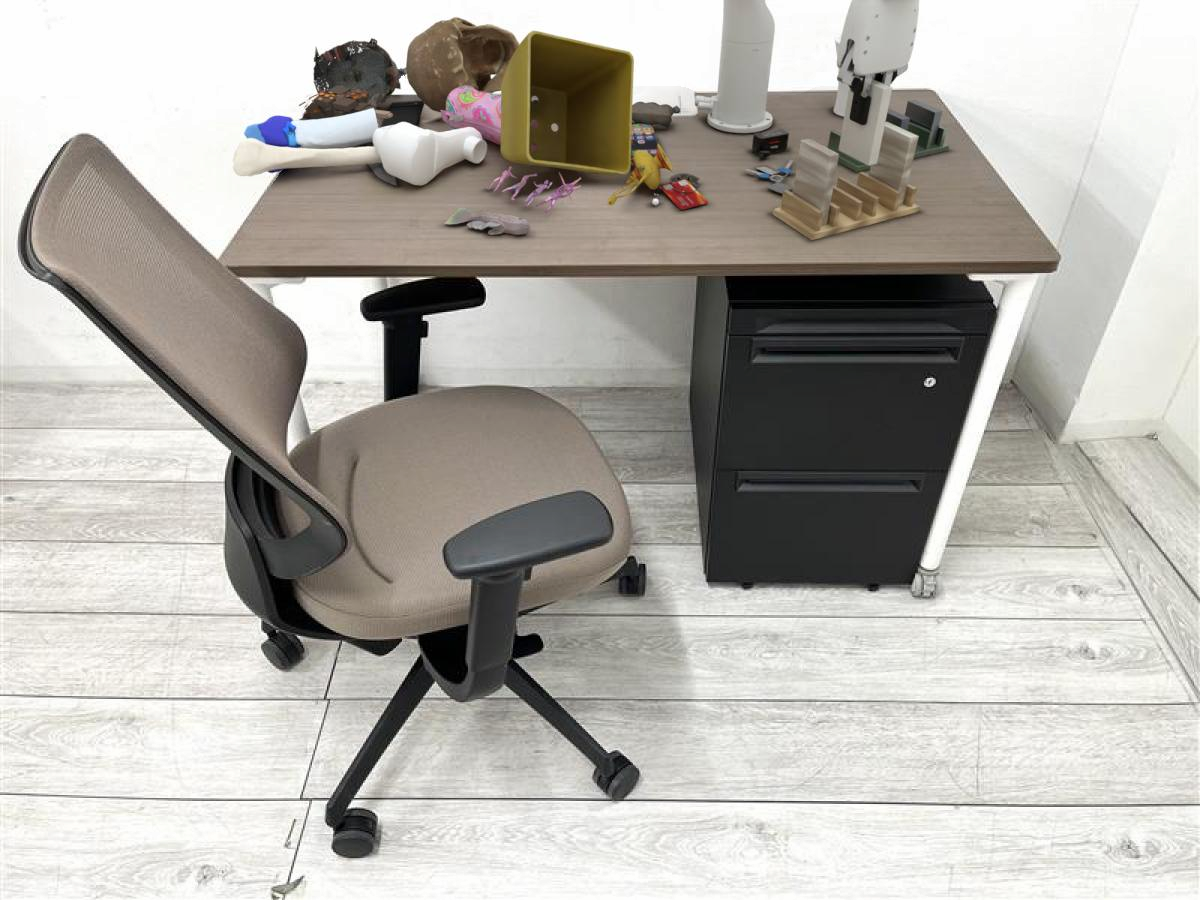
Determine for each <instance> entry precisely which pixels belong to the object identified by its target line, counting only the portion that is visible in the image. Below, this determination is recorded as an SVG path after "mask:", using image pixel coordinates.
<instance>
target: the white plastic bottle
mask: <svg viewBox="0 0 1200 900" xmlns="http://www.w3.org/2000/svg"><path fill="white" fill-rule="evenodd" d="M373 144H374V147H375V148H376V151H377V153H378V155H379V156H380V158H381V161H382V164H383V167H384V169H385V171H386V172H387V173H389V174H390V175H392V176H395V178H397V179H400V180H401V181H403V182H406V183H409V184H411V185H414V186H424V185H427V184H428V183H429V182H431V181H432V180H433V179H434V178H435V177H436V176H437V175H439V173H441V172H442V171H443V170H444V169H447V168H449V167H451V166H454V165H456V164H457V163H460V162H462V161H464V160H467V161H469V162H471V163H473V164H477V165H478V164H480V163H481V162H483V160H484V159H485V158H486V156H487V153H488V144H487V142H486V140H485V139H483V138H482V136H481V133H480V132H479V131H477V130H476V129H475V128H473V127H466V128H460V129H455V130H454V129H450V130H445V131H440V132H439V131H436V130H432V129H427V128H425V129H424V128H422V127H419V126H414V125H412V124H410V123H407V122H400V123H398V124H396V125H390V126H385V127H381V126H380V127H378V129H376V130H375V132H374V134H373Z"/></svg>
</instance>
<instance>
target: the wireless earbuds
mask: <svg viewBox="0 0 1200 900" xmlns="http://www.w3.org/2000/svg"><path fill="white" fill-rule="evenodd" d="M752 134H753V135H752V136H753V137H752V145H751V151H752V152H753V153H754V154H756V155H757V156H758V158H759V159H765V158H768V157H770V156H771V154H775V153H780V152H784V151H787V149H788V144H789V136H790V132H789V131H787V130H786V129H783V128H777V129H771V130H766V131H765V130H764V131H759V132H754V133H752Z"/></svg>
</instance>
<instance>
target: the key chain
mask: <svg viewBox="0 0 1200 900" xmlns="http://www.w3.org/2000/svg"><path fill="white" fill-rule="evenodd" d="M793 162H794V160H792V159H790V160H789V161H788V163H787V164H786V166H785V167H784V166H780V167H778V168H777V169H778V170H777V171H775V170H773V169H772V168H770V167H767V166H758V167H756V169H757V170H759V171H761V172H759V171H756V170H754V169H753V170H752V169H750V168H745V170H744V171H745V172H748V173H751V174H754V175H756V176H757V177H758V178H762V179H770V181H772V182H774V183H773V184H771V185H768V186H767V187H766V189H769V190H771V191H774V192H776V193H779V194H783V191H784V190H788V191H791V190H794V186H791V185H789V184H785V183H783V180H784V178H785V177H787V176H788V175H789V174H792V173H793V170H792V169H790V168H791V166H792V165H793ZM779 173H783V174H785V175H779Z"/></svg>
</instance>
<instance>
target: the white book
mask: <svg viewBox="0 0 1200 900" xmlns="http://www.w3.org/2000/svg"><path fill="white" fill-rule="evenodd" d="M862 80H863V78H861V81H862ZM892 92H893V87H892V86H891V85H890V86H888V85H885V84H883V83H880V82H878V81H876V80H873V79H872V80H871V86H870V92H869V95H868V96H870V97H871V102H870V108H869V113H868V118H867V123H866V124H865V125H860V124H858V123H856V122H854V121H851V120H850V118H849V117H850V111H851V105H852V100H853V94H854V93H852V92H851V91H850V87H849V92H848V98H847V103H846V109H845V115H844V116H843V122H842V127H841V132H840V133H841V138H840V144H839V151H841V152H843V153H845V154H847V155H849V156H851V157H853V158H855V159H856V160H858V161H860V162H862V163H864V164H866V165H868V166H870V165H874V164H877V160H878V155H879V151H880V146H881V141H882V136H883V131H884V126H885V121H886V116H887V111H888V108H889V106H890V102H891V96H892Z"/></svg>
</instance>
